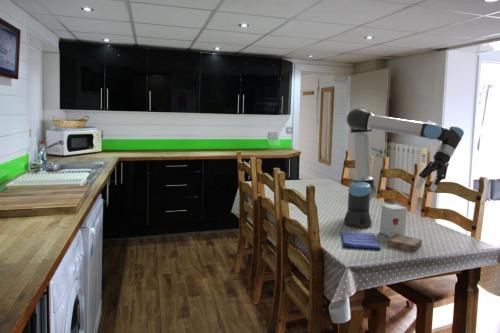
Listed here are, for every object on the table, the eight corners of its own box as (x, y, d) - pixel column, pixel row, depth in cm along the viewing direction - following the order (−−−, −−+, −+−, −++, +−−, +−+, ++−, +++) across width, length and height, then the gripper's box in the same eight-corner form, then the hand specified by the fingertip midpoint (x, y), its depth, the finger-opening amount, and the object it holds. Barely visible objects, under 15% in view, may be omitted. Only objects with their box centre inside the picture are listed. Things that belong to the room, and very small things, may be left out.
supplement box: (389, 237, 195) (391, 208, 193) (379, 232, 204) (381, 204, 202) (405, 236, 197) (407, 208, 195) (394, 231, 206) (396, 203, 204)
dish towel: (342, 249, 179) (343, 243, 179) (340, 233, 202) (340, 228, 202) (381, 252, 176) (381, 246, 176) (374, 236, 199) (374, 230, 199)
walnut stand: (387, 246, 183) (388, 239, 182) (396, 239, 192) (396, 233, 192) (414, 252, 175) (414, 245, 175) (421, 245, 185) (421, 239, 184)
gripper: (465, 157, 190) (444, 194, 189) (435, 158, 215) (417, 191, 214) (453, 149, 189) (432, 187, 188) (424, 151, 214) (406, 184, 213)
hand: (424, 189), depth 201 cm, fingers open, 13 cm apart
